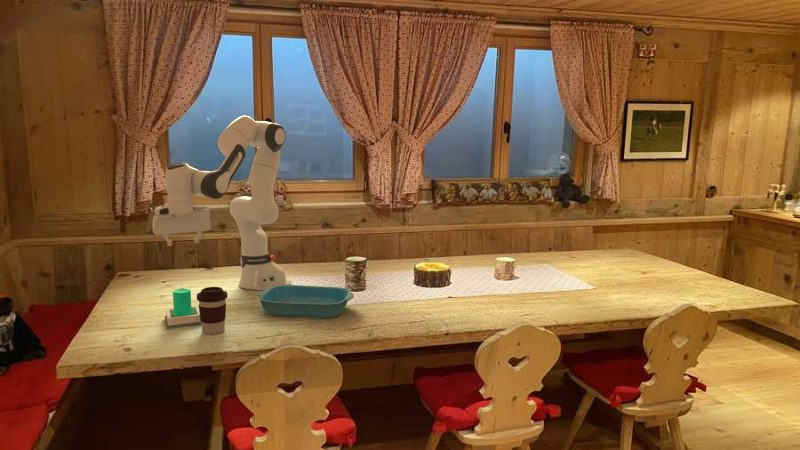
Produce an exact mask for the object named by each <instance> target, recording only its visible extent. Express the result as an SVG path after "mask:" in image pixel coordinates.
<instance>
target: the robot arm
mask: <svg viewBox="0 0 800 450" xmlns="http://www.w3.org/2000/svg"><path fill="white" fill-rule="evenodd" d="M286 137H287V135H286V131H285V129H284V127H283V126H282V125H280V124H279V123H276V122H269V121H263V120H262V121H261V120H260V121H258V120H256V121H255V119H254V118H252V117H250V116H249V115H248V116H247V115H242V116H239V117H238V118H236V119H235V120H233V121H232V122H231V123H230V124H229V125H228V126H226V128H225V129H224V130H223V131H222V132H221V134H220V135H219V137H218V138H217V147H218V149H219V151H220V153H221V154H222V155H223V156H224V157H225V158H224V160H223V162H222V163H221V164H220V166H219V168H217V169H215V170H211V171H208V170H199V169H197V168H194V167H192V166H190V165H189V164H188V163H186V162H176V163H172V164H169V165H168V166H167V167H166V170H165V179H164V180H165V190H166V192H167V196H166V203H164V204H161V205H159V206H156V207H155V208H154V214H155V215H153V217H152V228H151V229H152V234H154V236H162V235H163V238H164V239H165V240H166V242H167V243H166V245H167V246H168V247H171V246H173V241H172V240H171V239H170V240H169V238H168V237H169V235H174V234H184V233H185V234H186V233H195V232H196V234H197V236H196V237H194V238H193V240H194V241H193V243H194V244H199V243H200V238H201V236H202V234H203V233H202V232H208V231H211V229H212V223H211V219H210V217H211V215H212V214H211V208H209V207H208V206H205V205H202V206H194V199H193V197H194V196H197V197H204V198H209V199H213V200H218V199H221V198H223V197H225V195H226V193H227V192H228V191H229V187H230V184H231V182H232V180H233V178H234V176H235V175H236V173H237V172H238V170H239V168H240V167H241V165H242V164H243V162H244V160H245V158H246V155H247V154H246V153H247V152H246V150H247V148H248V147H249V146H251V147H254V148H256V152H255V155H254V159H253V161H252V165H251V169H250V173H249V176H248V180H247V181H248V185H250V187H251V196H237V197H235V198H233V199H232V200H231V202H230V204H229V206H228V207H229V208H228V209H229V213H230V215H231V216H232V217H233V219H234V220H235V222H236V225H237V228H238V232H239V234H240V244H241V254H240V267H241V270H240V271H241V273H240V277H239V278H240V279H239V282H238V286H239V288H241V289H245V290H246V289H247V290H253V291H263V290H266V289H269V288H272V287H274V286H279V285H290V284H291V285H292V282H291V279H290V278H289V277H287V276H286V272H285V270H284V268H283V267H281V266H280V265H279V264H277V263H275V262H274V260H276V256H275V255H273V254H271V253H270V252H269V251H268V247H269V246H268V235H267V233H266V232H265V231H264V230H263V228H262V226H261V225H270V224H271V225H272V224H273V223H274V222H276V221H277V219H278V218H279V214H280V213H279V212H280V211H279V206H278V205H277V204H276V201H275V196H274V195H275V194H274V191H275V190H274V189H275V188H274V187H275V183H276V181H277V180H276V179H277V175H278V171H279V166H280V160H281V148H282V147H283V145H284V143H285V141H286Z"/></svg>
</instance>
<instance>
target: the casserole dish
mask: <svg viewBox="0 0 800 450" xmlns="http://www.w3.org/2000/svg"><path fill="white" fill-rule="evenodd" d="M257 296H258V297H259V300H260V303H261V306H262V308H263V310H264V312H265V313H267V314H268V315H271V316H274V315H276V317H286V316H291V317H290V318H303V317H311V318H310V319H333V318H332V317H334V318H337V317H338V316H340V314H341V313H342V312H343V311H344V309H345V308H346V307H347V304H348V301H351V300H352V299H353V298H354V293H353V292H351V290H350V289H348V288H345V287H339V286H323V285H321V286H320V285H319V286H318V285H298V284H291V285H279V286H274V287H272V288H269V289H265V290H260V292H259V293H257ZM336 316H337V317H336Z"/></svg>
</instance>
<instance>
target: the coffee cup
mask: <svg viewBox="0 0 800 450" xmlns="http://www.w3.org/2000/svg"><path fill="white" fill-rule="evenodd" d="M226 299H228V292H227V291H226V290H224V289H223V288H222V287H220V286H208V287H204V288H202V289H201V290H200V292H198V293H197V294H196V300H197V301H198V307H199V313H200V321H201V324H200V325H201V331H202V334H204V335H219V334H221V333H223V332H224V331H225V324H226V323H225V322H226V316H227V300H226Z"/></svg>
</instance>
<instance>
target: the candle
mask: <svg viewBox="0 0 800 450" xmlns="http://www.w3.org/2000/svg"><path fill="white" fill-rule="evenodd" d="M172 304H173V308H174V317H179V316H188V315H192V311H191V306H192V293H191V289H189V288H185V287H184V288H183V286H181V287H180V288H177V289H174V290H173V291H172Z"/></svg>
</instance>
